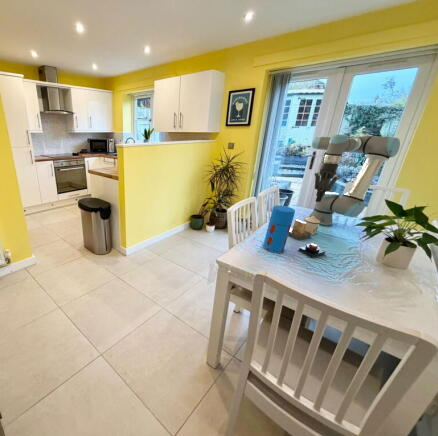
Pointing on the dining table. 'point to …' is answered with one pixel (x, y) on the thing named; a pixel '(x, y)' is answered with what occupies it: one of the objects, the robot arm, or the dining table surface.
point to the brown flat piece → (299, 234)
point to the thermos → (278, 228)
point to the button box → (311, 251)
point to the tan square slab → (299, 226)
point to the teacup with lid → (312, 225)
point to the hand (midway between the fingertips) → (318, 201)
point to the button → (313, 245)
